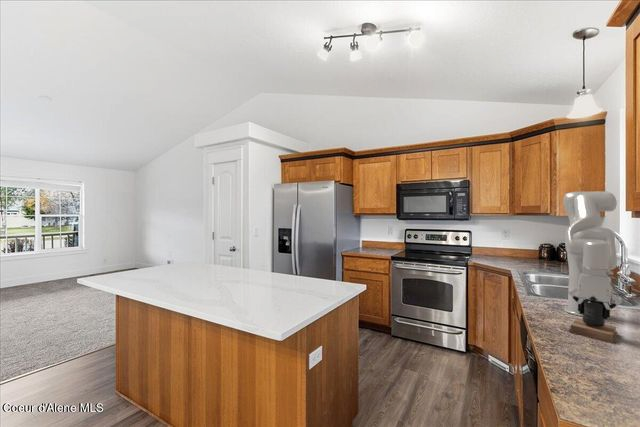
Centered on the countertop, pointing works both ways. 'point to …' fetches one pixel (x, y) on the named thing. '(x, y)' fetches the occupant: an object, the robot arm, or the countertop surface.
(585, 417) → the countertop surface
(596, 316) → the supplement bottle
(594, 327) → the walnut pedestal
